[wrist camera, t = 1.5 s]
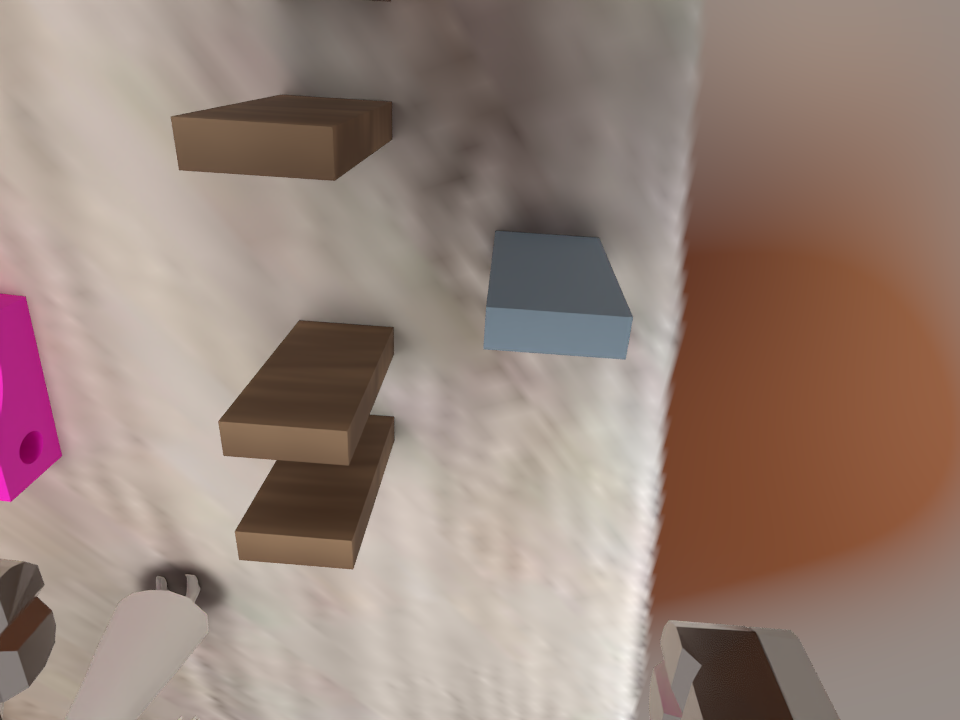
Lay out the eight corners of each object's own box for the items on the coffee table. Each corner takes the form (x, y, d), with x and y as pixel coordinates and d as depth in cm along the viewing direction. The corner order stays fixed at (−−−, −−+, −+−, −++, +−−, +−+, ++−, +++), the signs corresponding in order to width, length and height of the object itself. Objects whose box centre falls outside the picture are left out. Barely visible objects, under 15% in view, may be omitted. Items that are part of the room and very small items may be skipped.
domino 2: (299, 320, 33) (218, 421, 24) (393, 327, 33) (347, 431, 24) (301, 347, 34) (223, 455, 25) (393, 354, 34) (349, 465, 25)
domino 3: (306, 410, 36) (234, 531, 27) (394, 416, 36) (351, 541, 27) (308, 433, 36) (239, 559, 27) (394, 440, 36) (353, 569, 27)
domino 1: (281, 94, 28) (170, 116, 19) (392, 101, 28) (332, 127, 19) (284, 132, 29) (179, 170, 20) (392, 139, 29) (334, 180, 20)
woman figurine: (252, 555, 41) (79, 886, 25) (272, 604, 43) (123, 942, 27) (87, 566, 42) (-180, 888, 26) (114, 614, 44) (-120, 941, 28)
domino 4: (495, 230, 30) (486, 307, 22) (598, 237, 30) (633, 317, 21) (493, 262, 31) (483, 349, 22) (594, 269, 31) (625, 359, 22)
